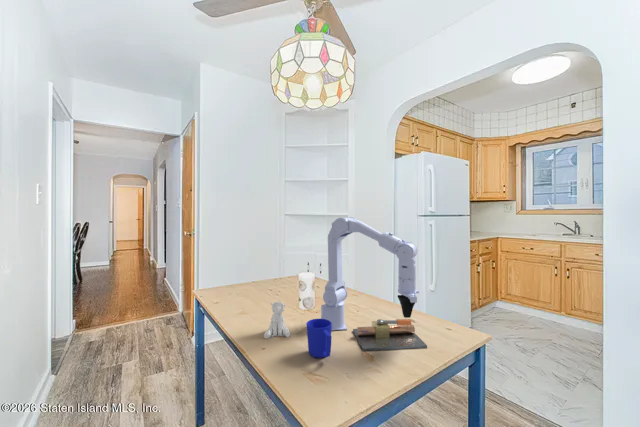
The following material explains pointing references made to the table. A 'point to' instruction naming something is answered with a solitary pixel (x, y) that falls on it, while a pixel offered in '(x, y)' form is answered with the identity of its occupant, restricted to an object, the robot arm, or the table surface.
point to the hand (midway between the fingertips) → (406, 316)
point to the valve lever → (395, 322)
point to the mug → (319, 337)
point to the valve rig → (388, 337)
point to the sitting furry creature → (277, 322)
